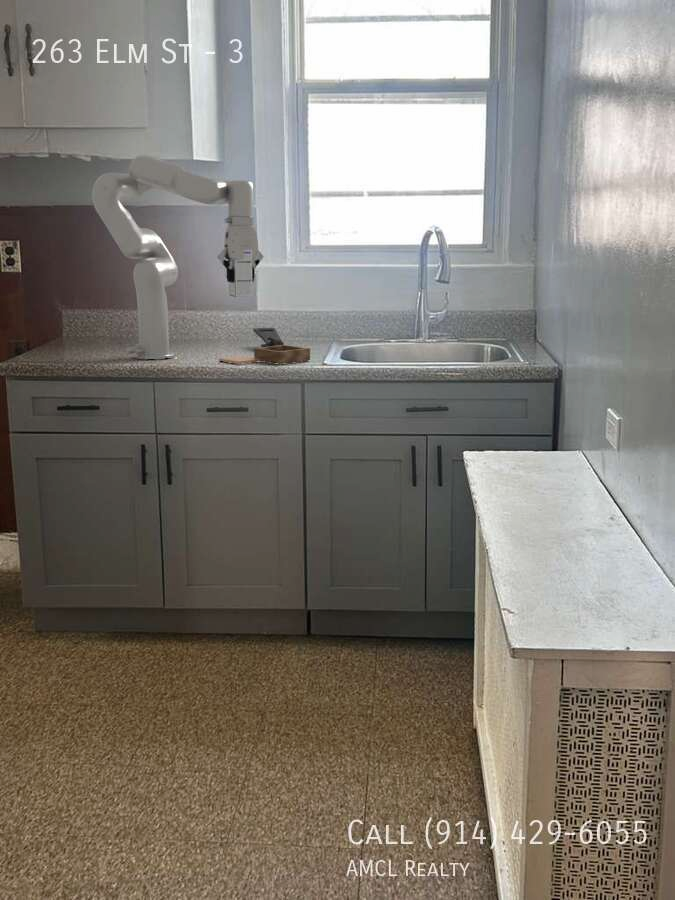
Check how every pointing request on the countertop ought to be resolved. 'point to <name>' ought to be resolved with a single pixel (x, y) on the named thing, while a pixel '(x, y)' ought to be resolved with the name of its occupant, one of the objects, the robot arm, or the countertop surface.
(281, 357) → the walnut caddy
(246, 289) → the syrup box
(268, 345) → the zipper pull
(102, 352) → the countertop surface
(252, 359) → the terracotta tile
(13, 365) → the countertop surface
